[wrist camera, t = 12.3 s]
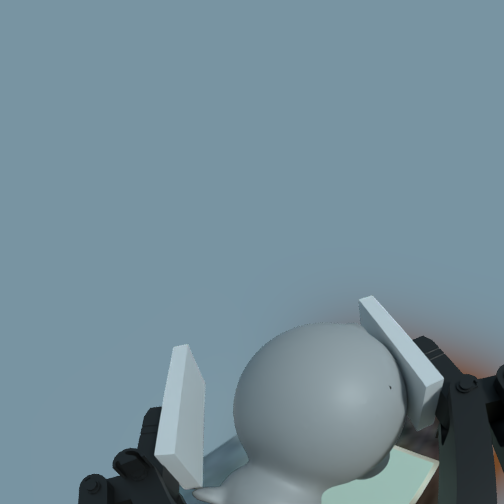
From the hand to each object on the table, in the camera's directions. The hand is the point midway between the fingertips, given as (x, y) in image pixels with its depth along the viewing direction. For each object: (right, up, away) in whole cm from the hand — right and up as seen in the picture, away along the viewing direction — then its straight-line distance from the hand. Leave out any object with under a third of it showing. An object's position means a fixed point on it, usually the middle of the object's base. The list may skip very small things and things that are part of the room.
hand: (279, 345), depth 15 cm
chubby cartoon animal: (+2, -7, -3) cm, 8 cm away
